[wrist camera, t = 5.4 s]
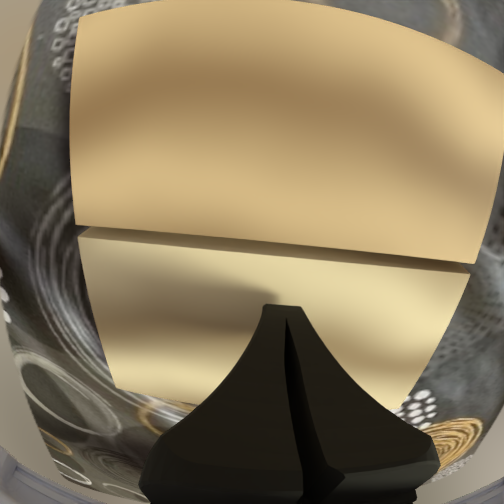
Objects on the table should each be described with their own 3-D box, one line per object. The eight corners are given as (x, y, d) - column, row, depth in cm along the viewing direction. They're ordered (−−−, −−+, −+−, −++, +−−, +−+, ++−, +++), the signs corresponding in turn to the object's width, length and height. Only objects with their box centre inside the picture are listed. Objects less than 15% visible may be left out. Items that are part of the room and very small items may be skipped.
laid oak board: (457, 248, 11) (474, 263, 10) (94, 212, 11) (75, 224, 10) (488, 77, 8) (509, 77, 6) (99, 25, 8) (79, 17, 7)
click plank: (392, 389, 15) (398, 408, 14) (124, 369, 15) (116, 387, 14) (454, 258, 11) (470, 274, 10) (95, 223, 12) (77, 236, 10)
